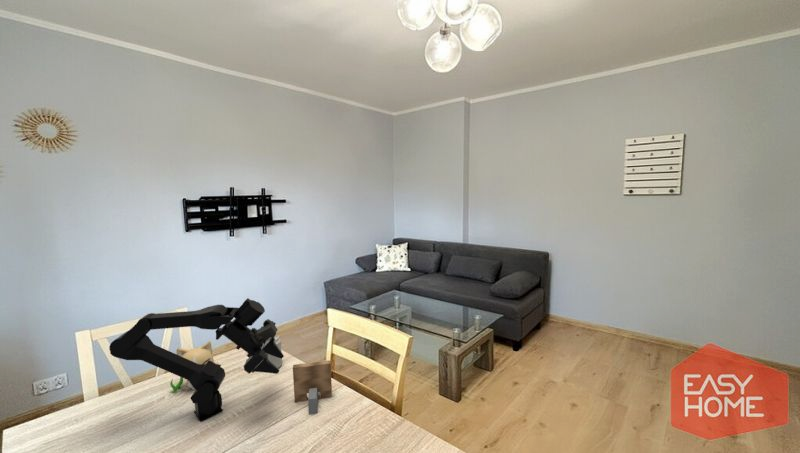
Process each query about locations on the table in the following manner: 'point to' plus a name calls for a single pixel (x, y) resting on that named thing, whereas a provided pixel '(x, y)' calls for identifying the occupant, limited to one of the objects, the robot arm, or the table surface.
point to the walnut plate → (312, 379)
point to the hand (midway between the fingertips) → (280, 364)
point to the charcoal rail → (313, 400)
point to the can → (273, 359)
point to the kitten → (194, 360)
